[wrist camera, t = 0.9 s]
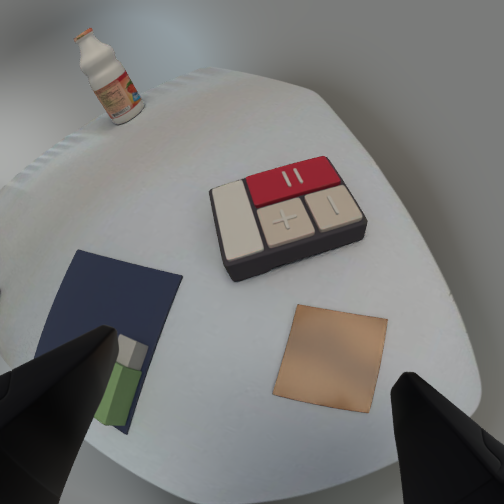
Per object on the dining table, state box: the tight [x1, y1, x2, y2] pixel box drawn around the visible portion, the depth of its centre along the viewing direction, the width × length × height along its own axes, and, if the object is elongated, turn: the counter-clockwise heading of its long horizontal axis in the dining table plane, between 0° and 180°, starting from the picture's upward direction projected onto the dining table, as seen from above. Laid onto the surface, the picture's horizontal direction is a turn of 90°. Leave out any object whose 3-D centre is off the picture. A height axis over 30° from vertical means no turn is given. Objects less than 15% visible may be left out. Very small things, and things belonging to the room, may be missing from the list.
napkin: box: [34, 250, 183, 435], centre depth 31 cm, size 20×22×1 cm
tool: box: [94, 334, 149, 426], centre depth 24 cm, size 10×3×4 cm, turn 163°
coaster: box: [272, 304, 388, 413], centre depth 23 cm, size 9×9×1 cm
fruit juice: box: [74, 28, 144, 124], centre depth 49 cm, size 9×9×28 cm
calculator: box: [209, 156, 367, 281], centre depth 30 cm, size 11×4×15 cm
